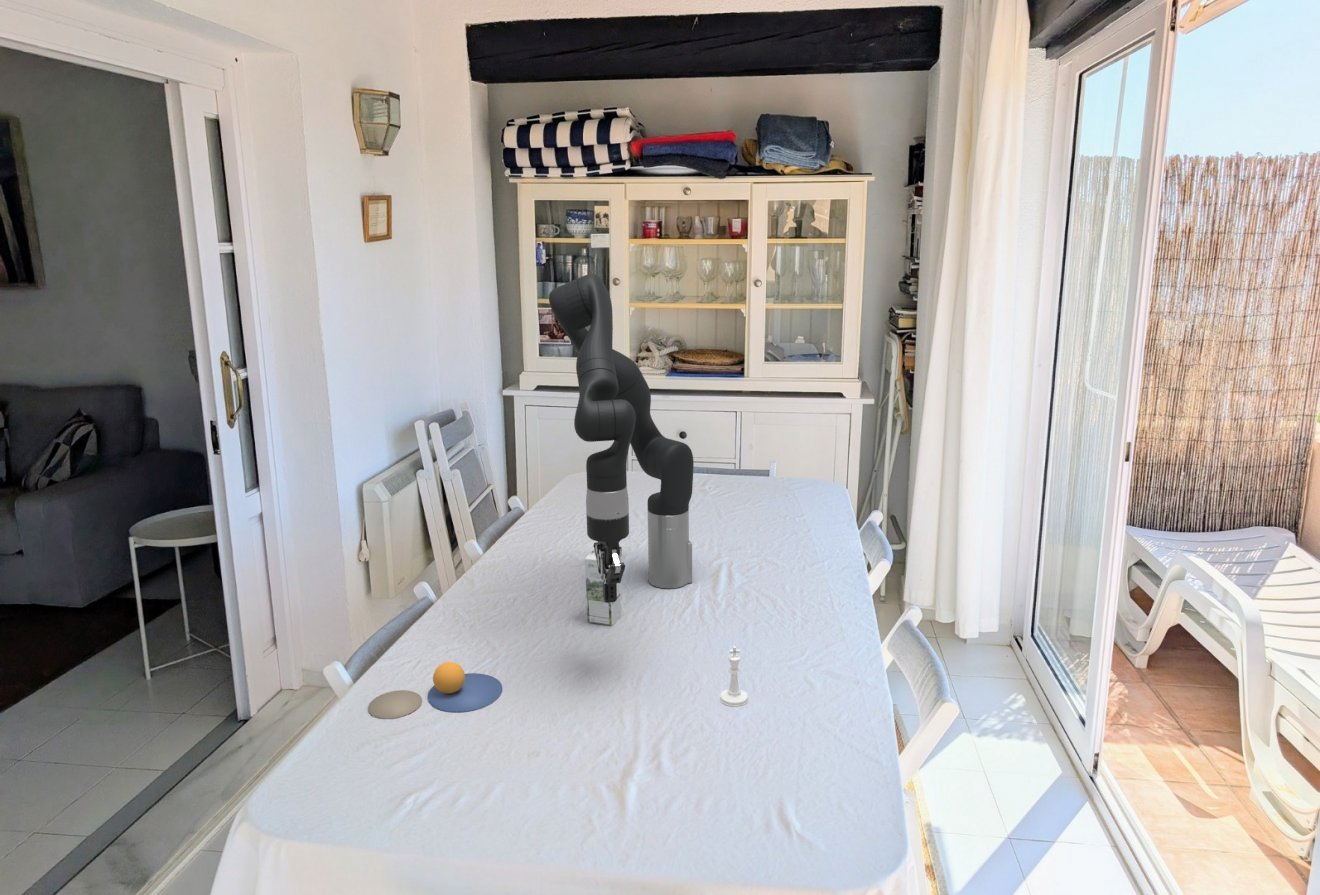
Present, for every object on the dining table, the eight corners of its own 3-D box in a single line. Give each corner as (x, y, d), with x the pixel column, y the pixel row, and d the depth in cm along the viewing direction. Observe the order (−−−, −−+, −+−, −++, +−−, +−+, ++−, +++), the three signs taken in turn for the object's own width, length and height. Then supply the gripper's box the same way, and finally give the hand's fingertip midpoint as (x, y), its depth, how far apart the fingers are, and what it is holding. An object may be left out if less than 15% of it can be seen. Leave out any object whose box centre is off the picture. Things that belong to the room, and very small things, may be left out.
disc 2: (496, 669, 170) (496, 668, 170) (507, 704, 158) (507, 703, 158) (424, 681, 166) (424, 680, 166) (431, 718, 154) (430, 717, 154)
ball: (444, 689, 165) (470, 672, 166) (444, 705, 160) (471, 687, 160) (426, 667, 163) (453, 650, 164) (426, 683, 158) (453, 665, 158)
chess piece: (717, 692, 161) (718, 641, 159) (745, 691, 162) (746, 639, 159) (722, 707, 157) (722, 654, 154) (750, 705, 157) (751, 653, 154)
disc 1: (419, 687, 164) (419, 686, 164) (423, 713, 156) (423, 712, 156) (367, 696, 161) (367, 695, 161) (368, 723, 153) (368, 722, 153)
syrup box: (622, 615, 192) (620, 550, 188) (611, 627, 186) (610, 560, 183) (597, 611, 194) (595, 547, 190) (586, 623, 188) (583, 557, 184)
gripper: (638, 520, 157) (640, 612, 162) (617, 497, 169) (619, 583, 174) (596, 525, 155) (599, 618, 160) (578, 501, 167) (581, 589, 172)
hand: (610, 600), depth 167 cm, fingers closed
